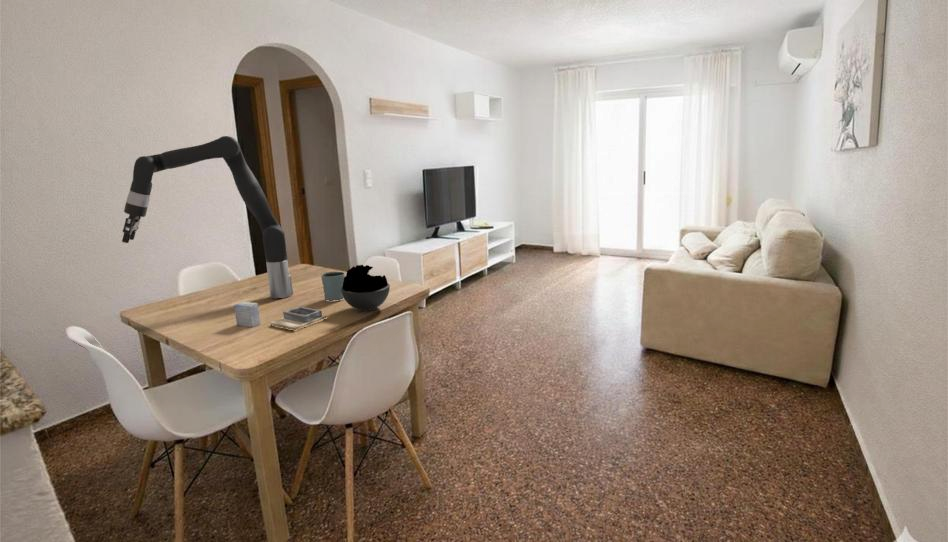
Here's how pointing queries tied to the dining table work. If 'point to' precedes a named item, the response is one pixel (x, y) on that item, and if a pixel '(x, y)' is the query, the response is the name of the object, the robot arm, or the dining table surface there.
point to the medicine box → (247, 314)
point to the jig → (298, 318)
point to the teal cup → (333, 285)
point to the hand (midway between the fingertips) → (127, 240)
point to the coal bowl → (364, 288)
